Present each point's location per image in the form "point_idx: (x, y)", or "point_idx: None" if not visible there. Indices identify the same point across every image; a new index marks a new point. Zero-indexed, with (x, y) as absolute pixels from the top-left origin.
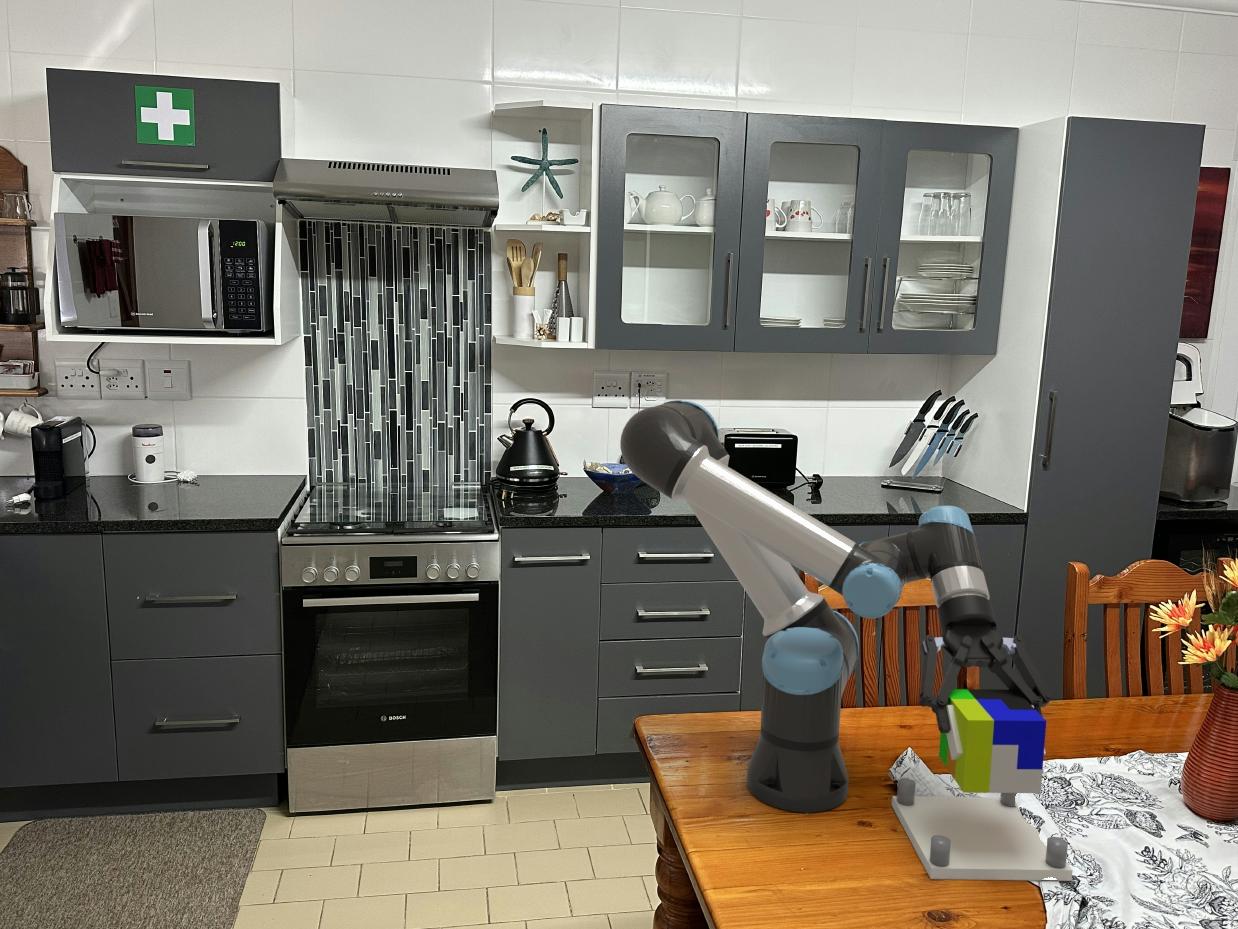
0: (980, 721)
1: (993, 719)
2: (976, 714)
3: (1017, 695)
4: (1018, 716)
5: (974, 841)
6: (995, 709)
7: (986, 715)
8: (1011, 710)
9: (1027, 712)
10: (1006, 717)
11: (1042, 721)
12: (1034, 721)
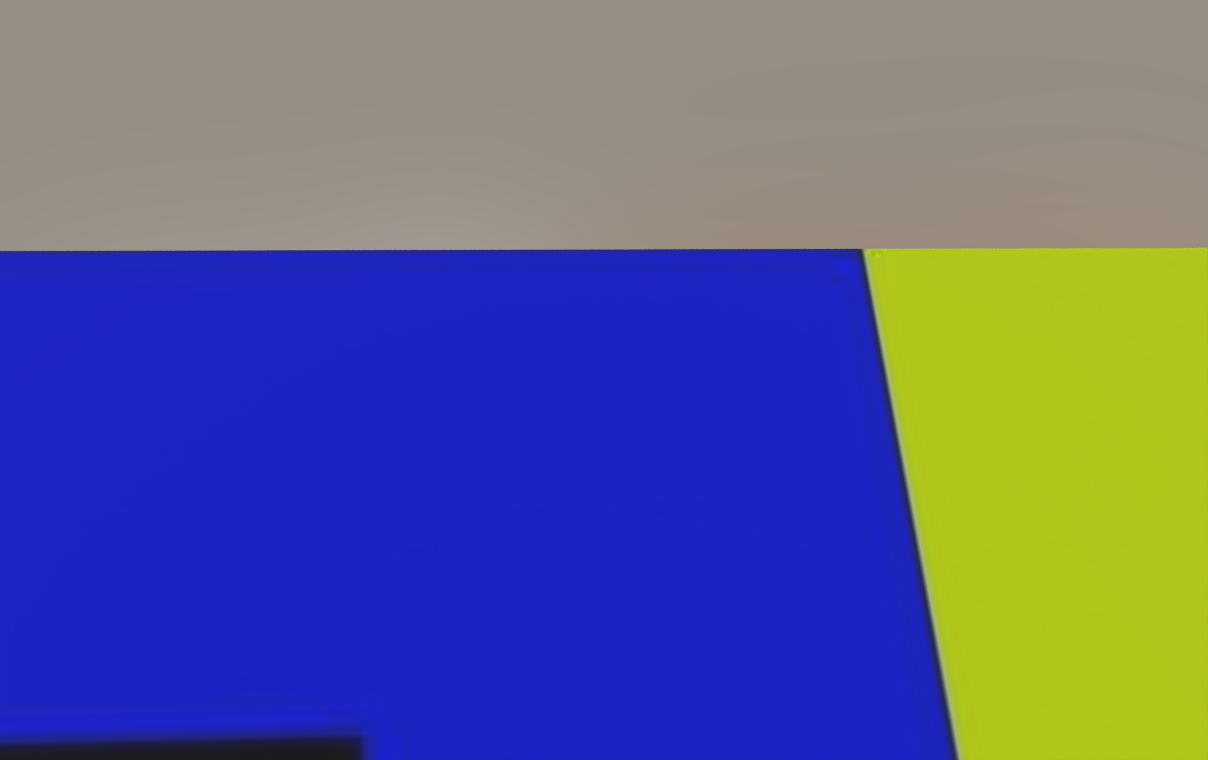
0: (1082, 261)
1: (866, 278)
2: (1149, 467)
3: None
4: (352, 403)
5: None
6: (705, 730)
7: (961, 429)
8: (354, 688)
9: (47, 594)
10: (604, 357)
11: (14, 251)
12: (153, 263)
